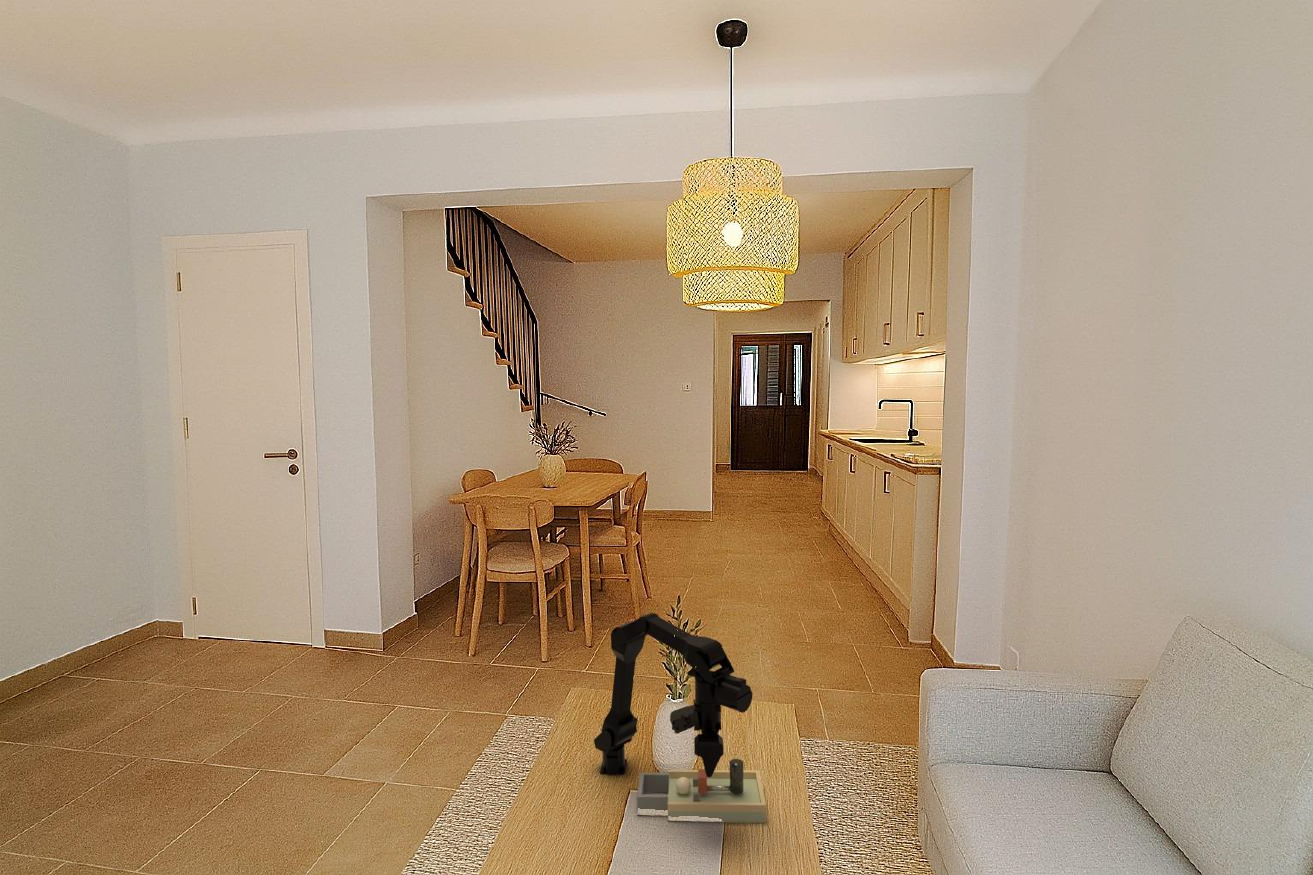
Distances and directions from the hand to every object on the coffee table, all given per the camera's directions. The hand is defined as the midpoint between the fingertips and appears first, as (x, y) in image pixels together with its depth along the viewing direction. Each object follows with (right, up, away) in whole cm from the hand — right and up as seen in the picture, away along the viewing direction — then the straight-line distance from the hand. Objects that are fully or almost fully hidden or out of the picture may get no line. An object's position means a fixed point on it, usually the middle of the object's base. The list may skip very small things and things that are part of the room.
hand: (708, 765), depth 155 cm
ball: (-6, -8, +6) cm, 12 cm away
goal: (-12, -12, +7) cm, 18 cm away
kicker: (+3, -9, +6) cm, 11 cm away
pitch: (+2, -12, +6) cm, 14 cm away
